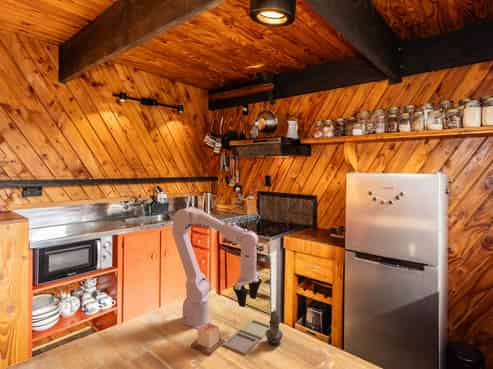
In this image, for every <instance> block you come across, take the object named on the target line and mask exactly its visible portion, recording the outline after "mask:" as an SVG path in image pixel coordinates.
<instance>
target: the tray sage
mask: <svg viewBox="0 0 493 369" xmlns="http://www.w3.org/2000/svg"><path fill="white" fill-rule="evenodd" d="M269 329H270V323H267V322H264V321H260V320H258V319H255V318H251V319H250V320H249V321H248V322H247V323H245V324H244V325H243V326H242V327H241V328H239V332H241V333H244V334H247V335H249V336H252V337H255V338H257V339H260V340H263V339H264V338H265V337H266V334H265V332H266V331H267V330H269Z"/></svg>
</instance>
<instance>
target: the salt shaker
mask: <svg viewBox="0 0 493 369" xmlns="http://www.w3.org/2000/svg"><path fill="white" fill-rule="evenodd" d="M268 324H270V329H269V330H267V331H266V332H265V334H266V335H265V337H266V339H267V341H266V344H267V345H268V346H269V347H272V348H278V347H280V346H281V340H282V337H283V336H284V333H283V331H282V330H280V324H281V323H280V313H279V312H278V311H277V310H276V309H273V311H271V312H270V320H269V322H268Z"/></svg>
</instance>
